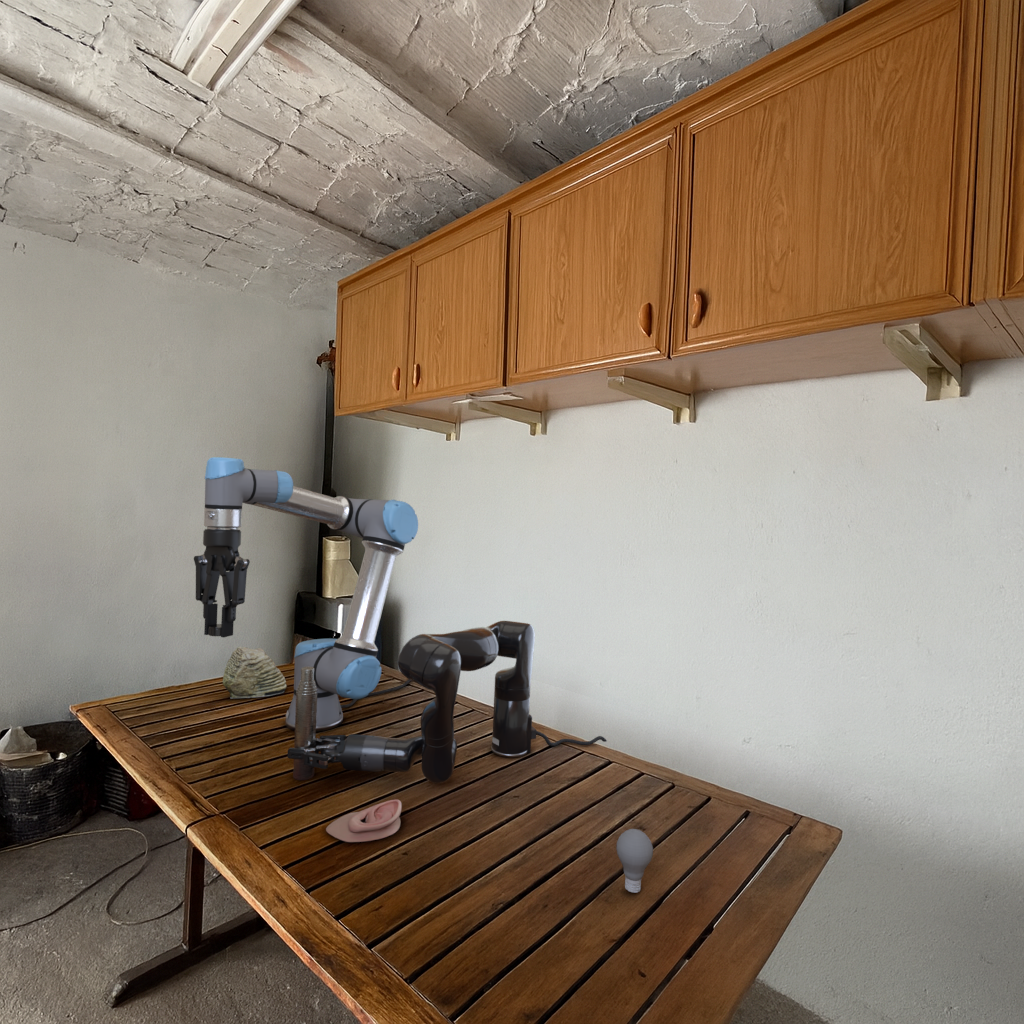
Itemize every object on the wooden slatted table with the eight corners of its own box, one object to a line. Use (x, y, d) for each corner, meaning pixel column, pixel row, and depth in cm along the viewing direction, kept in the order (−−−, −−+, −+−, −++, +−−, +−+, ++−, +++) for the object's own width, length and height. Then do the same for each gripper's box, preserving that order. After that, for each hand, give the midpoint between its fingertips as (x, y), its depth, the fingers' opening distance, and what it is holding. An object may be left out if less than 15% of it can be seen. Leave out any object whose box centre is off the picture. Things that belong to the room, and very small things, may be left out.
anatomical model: (318, 816, 117) (346, 789, 129) (317, 837, 118) (346, 808, 129) (385, 827, 115) (408, 798, 126) (384, 848, 115) (407, 818, 126)
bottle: (289, 779, 141) (294, 670, 141) (297, 771, 146) (301, 664, 145) (309, 780, 141) (313, 671, 140) (317, 772, 145) (321, 666, 145)
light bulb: (610, 879, 108) (613, 822, 108) (644, 879, 109) (647, 822, 109) (619, 902, 102) (622, 840, 102) (655, 901, 103) (658, 840, 103)
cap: (231, 635, 139) (231, 626, 139) (211, 637, 136) (211, 628, 136) (225, 631, 142) (225, 623, 142) (205, 633, 139) (206, 625, 139)
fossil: (218, 695, 195) (220, 647, 195) (278, 685, 208) (279, 640, 207) (228, 703, 189) (230, 653, 188) (289, 692, 201) (290, 645, 201)
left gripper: (178, 526, 138) (174, 633, 138) (241, 531, 132) (236, 642, 132) (206, 525, 145) (202, 627, 145) (266, 530, 139) (262, 636, 139)
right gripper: (376, 725, 150) (305, 721, 150) (358, 749, 135) (280, 744, 136) (374, 756, 150) (303, 752, 150) (357, 783, 135) (279, 778, 136)
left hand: (218, 634), depth 139 cm, fingers closed on cap, 4 cm apart
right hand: (293, 748), depth 143 cm, fingers closed on bottle, 4 cm apart
